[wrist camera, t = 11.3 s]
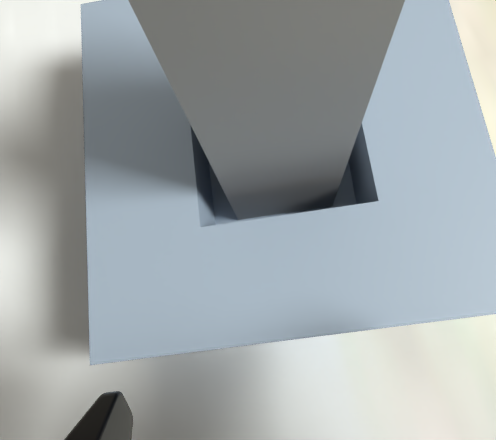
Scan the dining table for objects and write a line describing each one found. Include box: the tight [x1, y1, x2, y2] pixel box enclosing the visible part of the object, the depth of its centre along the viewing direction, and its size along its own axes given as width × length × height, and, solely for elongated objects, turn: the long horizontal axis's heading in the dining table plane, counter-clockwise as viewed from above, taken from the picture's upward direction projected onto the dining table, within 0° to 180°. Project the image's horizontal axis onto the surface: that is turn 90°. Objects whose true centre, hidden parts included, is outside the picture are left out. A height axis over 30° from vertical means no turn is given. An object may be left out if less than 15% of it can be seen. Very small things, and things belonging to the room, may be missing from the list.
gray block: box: [128, 0, 405, 220], centre depth 12 cm, size 4×4×13 cm
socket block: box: [81, 0, 496, 365], centre depth 17 cm, size 14×14×4 cm
